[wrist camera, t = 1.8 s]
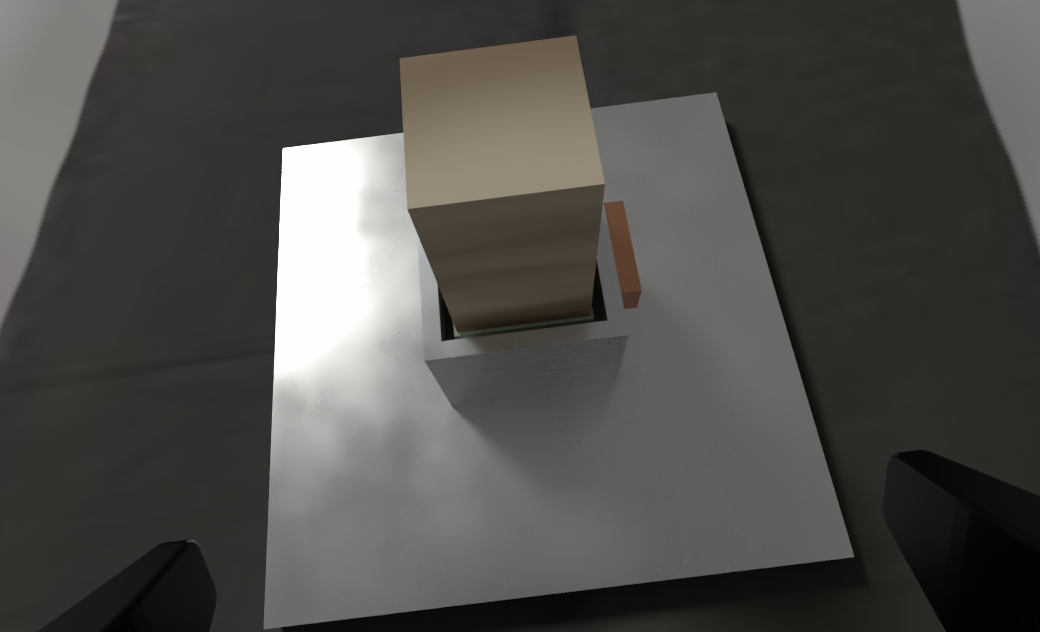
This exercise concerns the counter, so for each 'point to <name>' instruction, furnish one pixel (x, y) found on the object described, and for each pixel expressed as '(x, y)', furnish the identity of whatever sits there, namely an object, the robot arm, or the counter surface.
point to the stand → (535, 395)
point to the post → (505, 183)
